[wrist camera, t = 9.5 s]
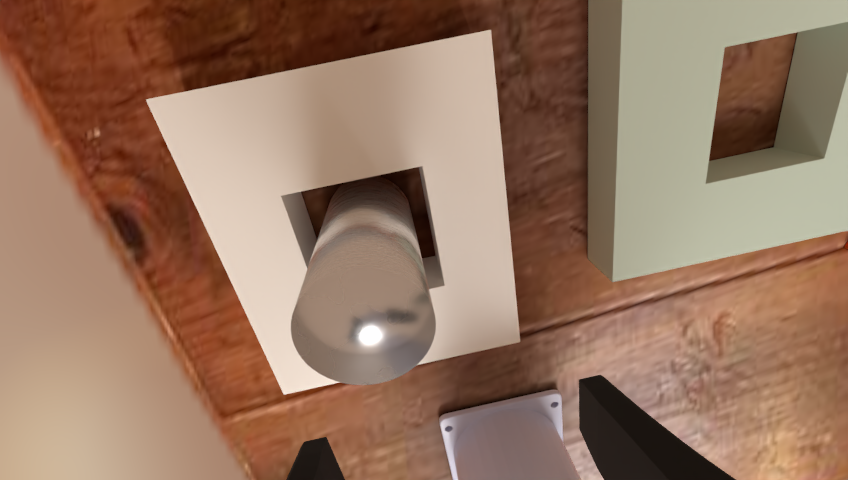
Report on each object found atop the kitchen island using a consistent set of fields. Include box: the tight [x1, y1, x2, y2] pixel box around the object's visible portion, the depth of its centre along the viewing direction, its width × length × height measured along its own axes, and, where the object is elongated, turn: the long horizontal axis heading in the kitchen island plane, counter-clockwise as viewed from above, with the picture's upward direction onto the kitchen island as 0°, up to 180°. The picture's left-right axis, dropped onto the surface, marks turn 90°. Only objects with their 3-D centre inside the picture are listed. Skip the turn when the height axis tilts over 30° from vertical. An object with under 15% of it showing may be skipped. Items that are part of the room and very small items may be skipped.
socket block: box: [588, 0, 848, 282], centre depth 18 cm, size 14×14×2 cm
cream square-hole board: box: [146, 30, 520, 395], centre depth 18 cm, size 14×12×3 cm
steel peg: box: [291, 176, 436, 385], centre depth 15 cm, size 4×4×9 cm
